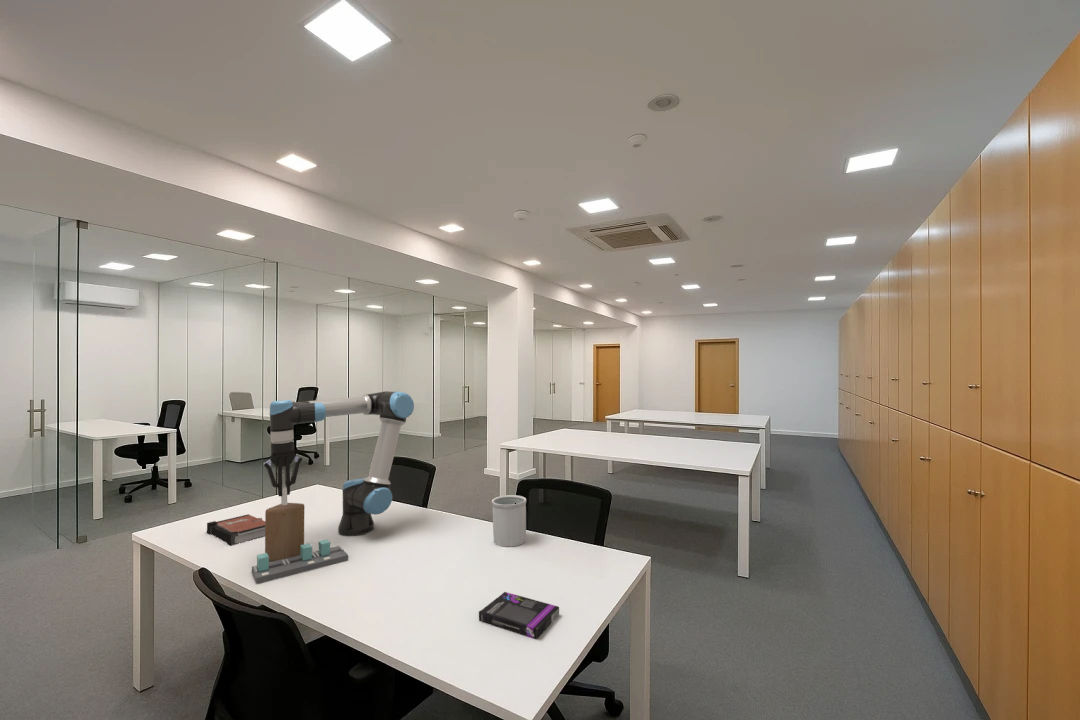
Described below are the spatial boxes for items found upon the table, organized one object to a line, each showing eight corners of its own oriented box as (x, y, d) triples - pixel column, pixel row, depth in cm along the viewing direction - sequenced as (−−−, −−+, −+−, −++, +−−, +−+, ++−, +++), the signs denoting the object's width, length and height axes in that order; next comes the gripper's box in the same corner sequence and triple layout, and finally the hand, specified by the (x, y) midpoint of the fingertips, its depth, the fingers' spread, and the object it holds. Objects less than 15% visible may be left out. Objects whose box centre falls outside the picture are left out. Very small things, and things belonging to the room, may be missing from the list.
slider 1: (266, 565, 163) (266, 552, 163) (268, 569, 159) (268, 556, 159) (256, 567, 161) (257, 554, 161) (258, 571, 157) (258, 558, 157)
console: (339, 550, 181) (339, 544, 181) (348, 560, 172) (348, 553, 172) (251, 572, 162) (251, 564, 162) (256, 584, 153) (256, 576, 153)
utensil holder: (485, 544, 187) (485, 502, 187) (501, 532, 201) (501, 493, 201) (517, 549, 181) (517, 506, 182) (532, 537, 195) (531, 496, 195)
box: (559, 618, 132) (504, 601, 142) (559, 606, 132) (504, 589, 142) (536, 642, 120) (477, 621, 130) (536, 629, 120) (477, 609, 130)
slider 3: (326, 550, 176) (327, 539, 176) (330, 554, 172) (330, 542, 172) (318, 552, 174) (318, 540, 174) (321, 556, 170) (321, 544, 170)
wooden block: (286, 564, 169) (286, 510, 169) (263, 561, 171) (264, 509, 171) (305, 553, 179) (305, 502, 179) (283, 551, 181) (284, 501, 181)
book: (275, 534, 201) (275, 523, 201) (230, 547, 187) (230, 534, 187) (249, 523, 216) (249, 512, 216) (206, 534, 202) (207, 522, 202)
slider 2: (309, 555, 172) (309, 543, 172) (311, 558, 168) (312, 546, 168) (300, 557, 170) (300, 545, 170) (303, 560, 166) (303, 548, 166)
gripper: (299, 438, 176) (301, 498, 176) (260, 442, 167) (262, 505, 167) (303, 440, 170) (305, 502, 170) (264, 445, 162) (266, 510, 162)
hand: (284, 504), depth 169 cm, fingers closed
